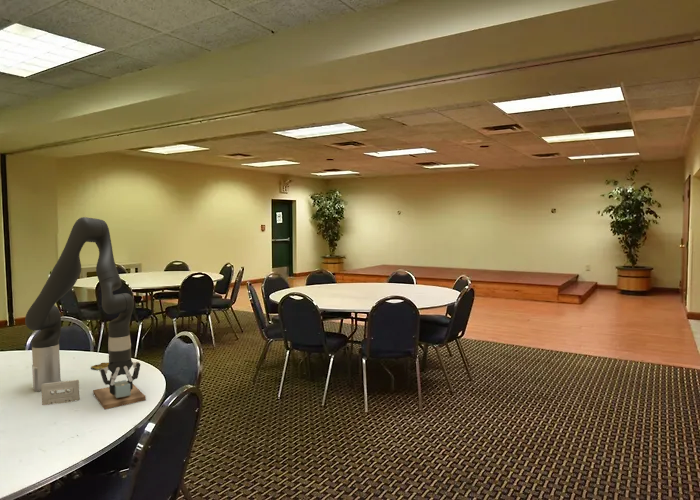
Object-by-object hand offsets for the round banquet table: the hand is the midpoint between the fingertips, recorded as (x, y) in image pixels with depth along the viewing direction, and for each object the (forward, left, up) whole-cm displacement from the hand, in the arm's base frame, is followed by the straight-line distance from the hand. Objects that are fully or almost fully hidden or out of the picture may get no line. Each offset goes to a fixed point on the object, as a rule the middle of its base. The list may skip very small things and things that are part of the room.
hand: (121, 392), depth 180 cm
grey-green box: (0, 0, -1) cm, 1 cm away
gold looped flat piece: (+6, +48, -3) cm, 49 cm away
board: (0, +4, -3) cm, 5 cm away
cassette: (-18, +12, -3) cm, 22 cm away
